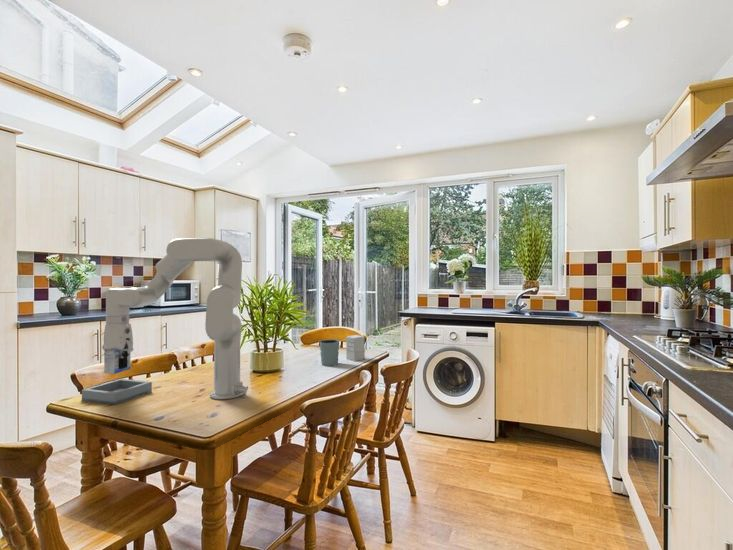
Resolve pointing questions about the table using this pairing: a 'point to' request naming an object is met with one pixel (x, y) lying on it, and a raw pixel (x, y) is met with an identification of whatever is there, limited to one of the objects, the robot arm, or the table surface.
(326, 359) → the grey-green bucket
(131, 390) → the tray
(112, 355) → the medicine box
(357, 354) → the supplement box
